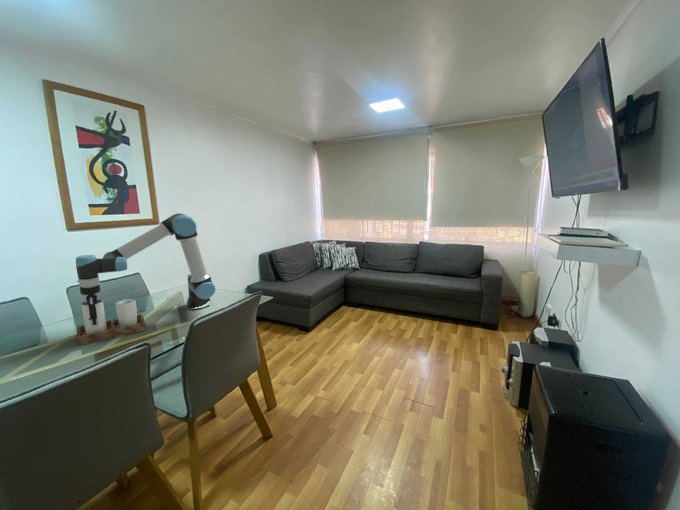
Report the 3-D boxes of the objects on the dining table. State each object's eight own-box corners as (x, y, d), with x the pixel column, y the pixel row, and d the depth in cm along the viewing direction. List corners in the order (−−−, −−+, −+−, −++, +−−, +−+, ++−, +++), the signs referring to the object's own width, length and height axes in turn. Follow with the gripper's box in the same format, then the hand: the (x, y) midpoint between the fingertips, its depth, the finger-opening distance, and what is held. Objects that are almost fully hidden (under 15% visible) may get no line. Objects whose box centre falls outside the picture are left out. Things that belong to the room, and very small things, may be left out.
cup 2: (116, 328, 147) (113, 303, 144) (129, 322, 154) (126, 298, 151) (127, 330, 146) (124, 305, 143) (139, 324, 153) (137, 300, 150)
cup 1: (86, 336, 135) (81, 306, 132) (85, 330, 140) (80, 301, 137) (107, 331, 141) (103, 302, 137) (105, 325, 146) (101, 298, 143)
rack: (143, 320, 160) (142, 313, 159) (145, 330, 149) (145, 322, 148) (79, 333, 142) (77, 326, 141) (77, 345, 131) (75, 337, 130)
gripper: (80, 281, 141) (87, 320, 145) (78, 293, 125) (85, 337, 130) (99, 278, 145) (105, 317, 150) (99, 290, 130) (105, 332, 135)
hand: (95, 326), depth 140 cm, fingers open, 8 cm apart
